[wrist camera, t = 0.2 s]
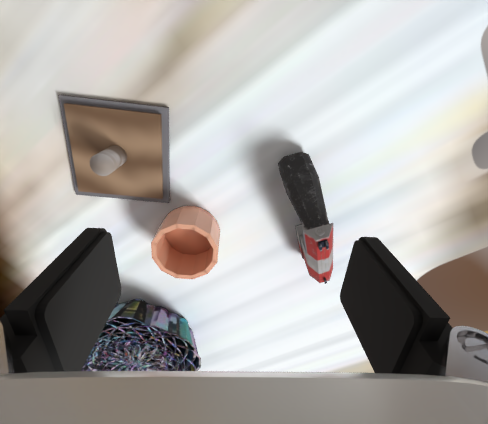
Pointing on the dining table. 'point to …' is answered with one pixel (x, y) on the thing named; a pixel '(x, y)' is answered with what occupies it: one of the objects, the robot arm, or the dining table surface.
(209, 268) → the terracotta pot
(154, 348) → the decorative bowl
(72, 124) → the walnut lid
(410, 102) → the dining table surface
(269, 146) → the dining table surface
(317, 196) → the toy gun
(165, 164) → the charcoal tray
